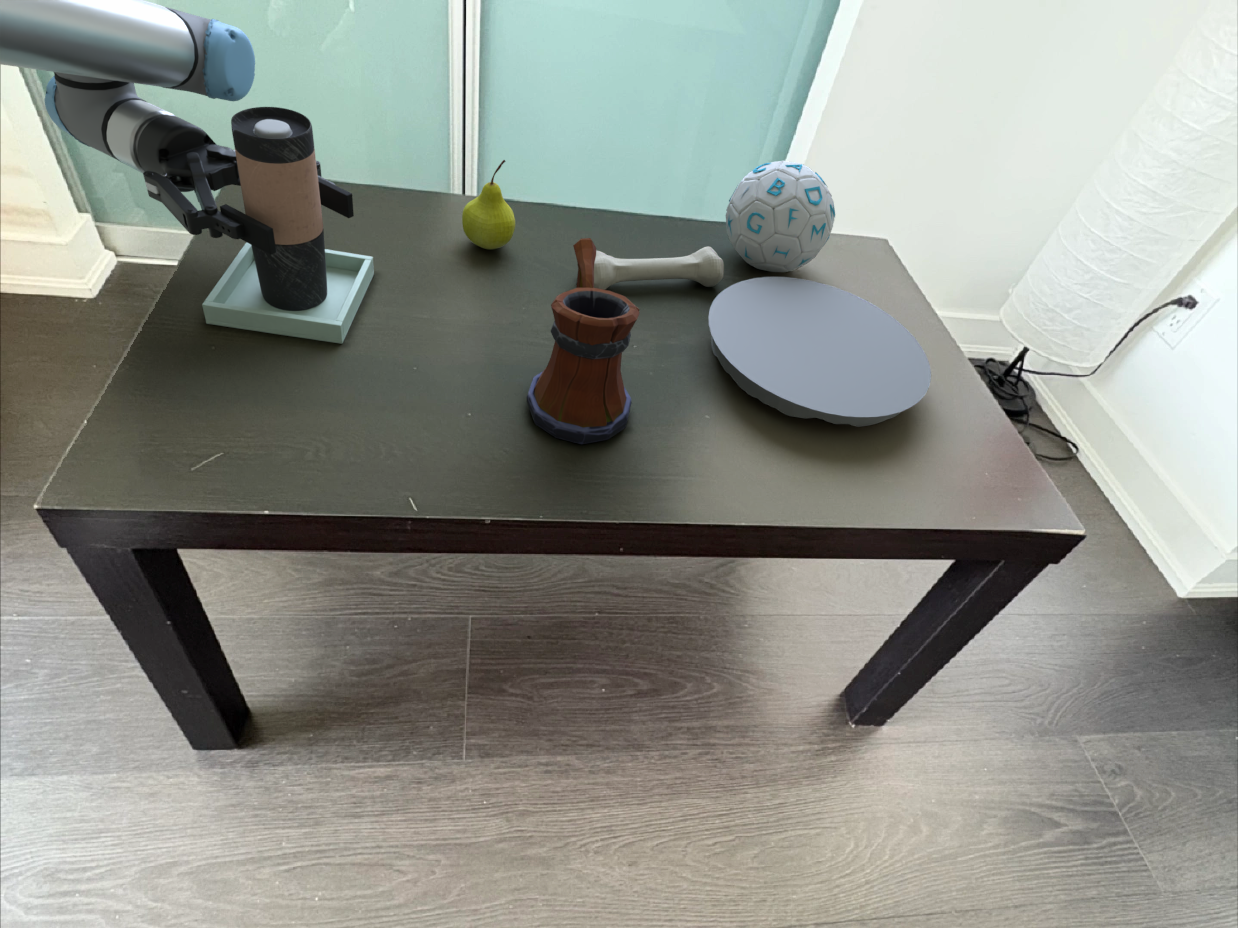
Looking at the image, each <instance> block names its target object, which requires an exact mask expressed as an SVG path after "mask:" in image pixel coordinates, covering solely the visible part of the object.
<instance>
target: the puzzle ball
mask: <svg viewBox="0 0 1238 928" xmlns="http://www.w3.org/2000/svg"><path fill="white" fill-rule="evenodd" d="M834 203H835V201H834V199H833V195H832V193H831V192H830V190H829V187H828V185H827V184H826V181H824V179H823V178H822V177H821V176H820V175H819V174H818V173H817V172H816V171H814V170H812V168H810V167H809V166H807V165H805V164H804V163H799V162H794V161H788V160H777V161H771V162H765V163H763V164H760V165H758V166H757V167H755V168H754V169H752V170H751V171H750V172H748V173H747V174H746V175H745V176H743V178H742V179H741V180H740V181H739V182H738V184H737V186H736V188H735V189H734V190H733V193H732V194H731V196H730V197H729V199H728V205H727V206H726V212H725V227H726V233H727V234H726V235H727V237H728V240H729V242H730V244H731V245H732V248H733V249H734V250H735V251H736V253H737V254H738V255H739V256H740V257H741V258H742V259H743V261H744V262H745V263H746V264H748V265H749V266H751V267H754V269H757V270H761V271H767V272H770V273H786V272H787V273H788V272H792V271H794V270H798V269H800V268H801V267H803V266H805V265H807V264H809V263H810V262H812V260H814V259H815V258H816V257H817V255H818V254H819V253H820V252H821V250H823V247H824V246H825V245H826V244H827V242H828V241H829V239H830V236H831V233H832V231H833V228H834V223H835V218H836V210H835V204H834Z"/></svg>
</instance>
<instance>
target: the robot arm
mask: <svg viewBox="0 0 1238 928" xmlns="http://www.w3.org/2000/svg"><path fill="white" fill-rule="evenodd" d="M0 65H1V66H9V67H16V68H22V69H23V68H24V69H31V70H38V71H45V72H52V73H53V75H52V77H51V78H50V79H49V81H48V82H47V84H46V86H45V88H46V89H45V96H44V106H45V110H46V113H47V114H48V116H49V118H50V119H51V121H52V122H53V123H54V124H55V126H57V128H59V129H60V130H62V131H63V132H65V133H66V134H68V135H70V136H71V137H73V138H74V140H76V141H78V142H79V143H80V144H82V145H84V146H87V147H88V148H92V149H94V150H97V151H98V152H100V153H103V154H105V155H107V156H109V157H111V158H113V159H115V160H117V161H118V162H120V163H122V164H124V165H126V166H128V167H129V168H132V169H134V170H135V171H137V172H140V173H141V174H142V175H143V179H144V183H145V187H146V191H147V195H148V197H149V198H151V199H153V200H155V201H157V202H160V203H162V205H163V206H164V207H165V208H166V209H167V210H168V211H169V213H170V214H171V215H172V216H173V217H174V218H175V220H177V221H178V222H179V223H180V224H181V225H182V227H183V228H184V229H185V230H186V231H187V232H188V233H189V234H190V235H191V236H192V235H193V236H199V235H201V234H203V230H207V229H208V233H209V236H210V238H212V239H219V238H222V237H223V236H224V235H225V236H227V237H229V238H231V239H233V240H237V241H238V240H242V241H244V242H245V243H246V242H247V243H249V244H251V245H253V246H255V247H257V248H258V249H260V250H262V251H264V252H266V253H268V254H270V255H272V254H274V253H276V246H275V239H274V232H273V228H271V227H269V226H267V225H265V224H263V223H261V222H260V221H258V220H256V219H254V218H252V217H250V216H248V215H246V214H245V212H242V211H240V210H238V209H237V208H234V207H233V206H231V205H228V204H227V203H225V204H222V205H220V206H219V209H218V206H217V203H216V200H215V197H214V195H213V192H216V191H220V190H221V189H223V188H224V187H227V186H232V185H233V186H237V187H238V186H239V187H241V183H240V177H239V171H238V165H237V159H236V153H235V148H234V149H232V148H231V147H228V146H223V145H219V144H217V143H216V142H215V141H214V140H213V138H211V136H210V135H209V134H208V133H207V132H206V130H204V129H202V128H201V127H199V126H197V125H195V124H194V123H191V122H189V121H188V120H185V119H183V118H181V117H179V116H176V115H175V114H174V113H172V112H170V111H168V110H166V109H163V108H161V107H159V106H157V105H155V104H153V103H150V102H148V101H146V100H145V99H144V98H143V99H142V98H141V97H139V96H138V94H137V90H136V87H135V84H137V85H144V86H145V85H146V86H153V87H160V88H163V89H169V90H177V91H181V92H182V91H183V92H187V93H188V92H189V93H193V94H198V95H202V96H205V97H207V98H209V99H213V100H216V99H218V100H223V101H229V102H239V101H241V100H242V99H244V98H245V97H246V96H247V95H248V94H249V93H250V90H251V89H252V86H253V83H254V81H255V75H256V73H255V72H256V56H255V51H254V48H253V45H252V43H251V41H250V39H249V37H248V36H247V34H246V33H245V32H244V31H243V30H242V29H240V28H239V27H237V26H234V25H231V24H228V23H225V22H222V21H219V20H218V19H215V18H207V17H204V16H200V15H195V14H192V13H189V12H185V11H182V10H179V9H174V8H171V7H168V6H164V5H161V4H158V3H155V2H152V1H147V0H0ZM316 166H317V175H318V183H319V192H320V201H321V206H323V207H325V208H327V209H329V210H331V211H333V212H335V213H337V214H339V215H341V216H342V217H345V218H347V219H350V218H353V217H354V215H355V214H354V201H353V200H354V199H353V193H352V192H350V191H348V190H345V189H344V188H342V187H340V186H337V185H336V184H335V183H334V182H333V181H330V180H328V179H326V178H324V177H323V176H322V167H321V162H320V161H319V160H316ZM212 191H213V192H212ZM190 192H194V194H195V197H196V199H197V202H198V203H199V207H200V209H199V210H198V208H196V206H194V204H193V203H192V202H191V201H190V200H189V199H188V198H187V197H186V196H185V195H184V194H183V193H190Z"/></svg>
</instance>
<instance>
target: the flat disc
mask: <svg viewBox="0 0 1238 928" xmlns="http://www.w3.org/2000/svg"><path fill="white" fill-rule="evenodd" d="M708 326H709V331H710V334H711V338H710V342H711V343H710V344H711V350H712V353H713V355H714V356H715V357H716V358H717V359H718V361H719V363H720V365H721V366H722V369H723V370H724V371H725V372H726V373H727V374H729V376H730V377H731V378H732V380H733V381H734V382H735V383H736V385H737V386H738V387H739V388H740V389H741V390H743V391H744V392H745V393H746V394H747V395H749V396H751V397H753V398H755V399H758V400H759V401H760V402H761V403H762V404H763V405H764V404H765V405H767V406H768V407H771V408H774V409H776V410H777V411H779V412H780V413H782V414H784V415H785V416H789V417H795V418H799V419H813V418H814V419H815V418H817V419H819V420H824V421H825V422H827V423H830V424H831V423H832V424H833V425H851V426H854V427H856V428H860V427H867V426H873V425H876V424H879V423H882V422H884V421H887V420H891V419H893V418H895V417H896V416H898V415H899V414H901V413H902V412H904V411H906V410H909V409H910V408H911V407H914V406H915V405H917V404H918V403H920V401H921V400H922V399H923V398H924V397H925V395H926V394H927V392H928V390H929V389H930V385H931V381H932V369H931V363H930V361H929V358H928V356H927V354H926V352H925V349H924V348H923V347H922V345H921V344H920V343H919V341H918V340H917V338H916V337H915V336H914V335H913V334H912V333H911V331H909V330H908V328H906V326H904V325H903V324H902V323H901V322H900V321H899V320H897V319H896V318H895V317H893V316H892V315H891V314H890V313H888V312H887V311H885V310H883V308H880V307H879V306H877V305H875V304H874V303H872V302H870V301H869V300H867V299H865V298H862V297H860V296H858V295H856V294H854V293H852V292H850V291H847V290H844V289H841V288H839V287H836V286H832V285H829V284H826V283H822V282H819V281H814V280H810V279H804V278H799V277H789V276H761V277H753V278H749V279H745V280H741V281H738V282H736V283H733V284H731V285H729V286H728V287H726V288H724V289H723V290H722V291H721V292H720V293H718V294H717V295H716V297H715V298H714V299H713V301H712V302H711V305H710V307H709V312H708Z"/></svg>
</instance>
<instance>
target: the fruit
mask: <svg viewBox="0 0 1238 928" xmlns="http://www.w3.org/2000/svg"><path fill="white" fill-rule="evenodd" d="M505 163H506V160H505V159H503V160H502V161H501V163H500V164H499V165H498V167H497V168H496V169H495V170H494V173H493V175H492V177H491V180H490V181H488V182H486V183H485V184H484V185H483V187H482V189H481V191H480V193H479V195H478V196H476V197H475V198H474V199H472V200H470V201H469V202H467V203H466V204H465V206H464V207H463V210H462V214H461V215H462V216H461V224H462V229H463V233H464V234H465V236H466V237H467V238H468V240H469V241H470V242H471V243H473V244H474V245H475V246H477V247H479V248H481V249H485V250H496V249H500V248H502V247H504V246H505V245H508V243H509V242H510V241H511V240H512V238H513V235H514V232H515V229H516V218H515V213H514V211H513V209H512V207H511V206H510V205H509V204H508V203H507V202H506V201H505V199H504V197H503V194H502V190H501V187H500V186H499V184H498V183H496V182H494V180H495V179H494V178H495V175H496V174H497V173H498V172H499V170H500V169H501V168H502V167H503V165H504V164H505Z"/></svg>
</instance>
